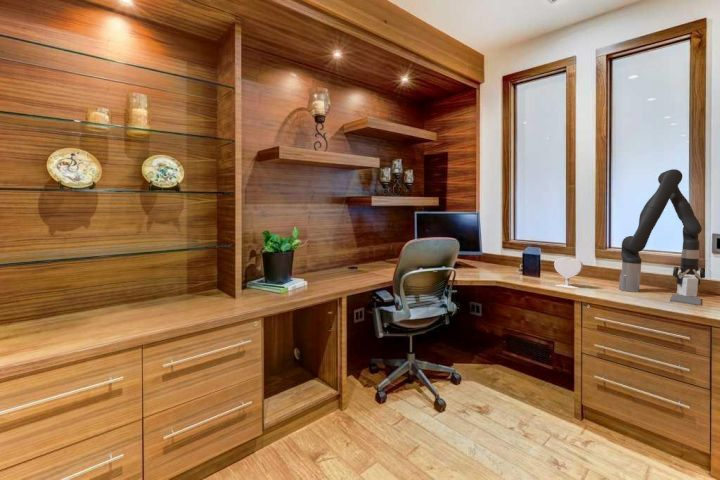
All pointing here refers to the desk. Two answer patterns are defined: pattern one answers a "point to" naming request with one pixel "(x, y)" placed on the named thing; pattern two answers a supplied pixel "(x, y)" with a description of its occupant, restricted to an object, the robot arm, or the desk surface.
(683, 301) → the mat
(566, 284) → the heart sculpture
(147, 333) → the desk surface
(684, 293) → the small box
